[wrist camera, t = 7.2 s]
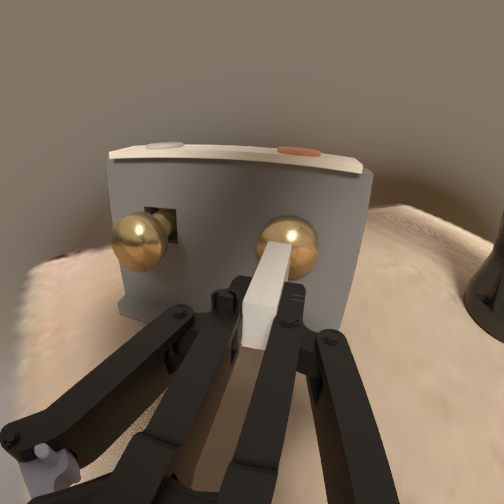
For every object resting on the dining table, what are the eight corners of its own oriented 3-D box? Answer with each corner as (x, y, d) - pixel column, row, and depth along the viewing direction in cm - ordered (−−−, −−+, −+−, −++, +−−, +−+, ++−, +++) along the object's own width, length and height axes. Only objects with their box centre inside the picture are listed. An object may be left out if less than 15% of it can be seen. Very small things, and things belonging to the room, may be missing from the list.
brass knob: (272, 231, 29) (275, 189, 27) (315, 236, 28) (320, 194, 27) (255, 273, 22) (258, 218, 20) (313, 282, 21) (322, 226, 19)
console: (146, 285, 33) (132, 142, 25) (333, 317, 29) (365, 155, 22) (120, 314, 28) (93, 151, 20) (334, 357, 24) (380, 165, 16)
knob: (164, 228, 29) (161, 187, 27) (202, 232, 28) (202, 189, 26) (115, 267, 21) (107, 216, 19) (161, 276, 20) (155, 221, 18)
